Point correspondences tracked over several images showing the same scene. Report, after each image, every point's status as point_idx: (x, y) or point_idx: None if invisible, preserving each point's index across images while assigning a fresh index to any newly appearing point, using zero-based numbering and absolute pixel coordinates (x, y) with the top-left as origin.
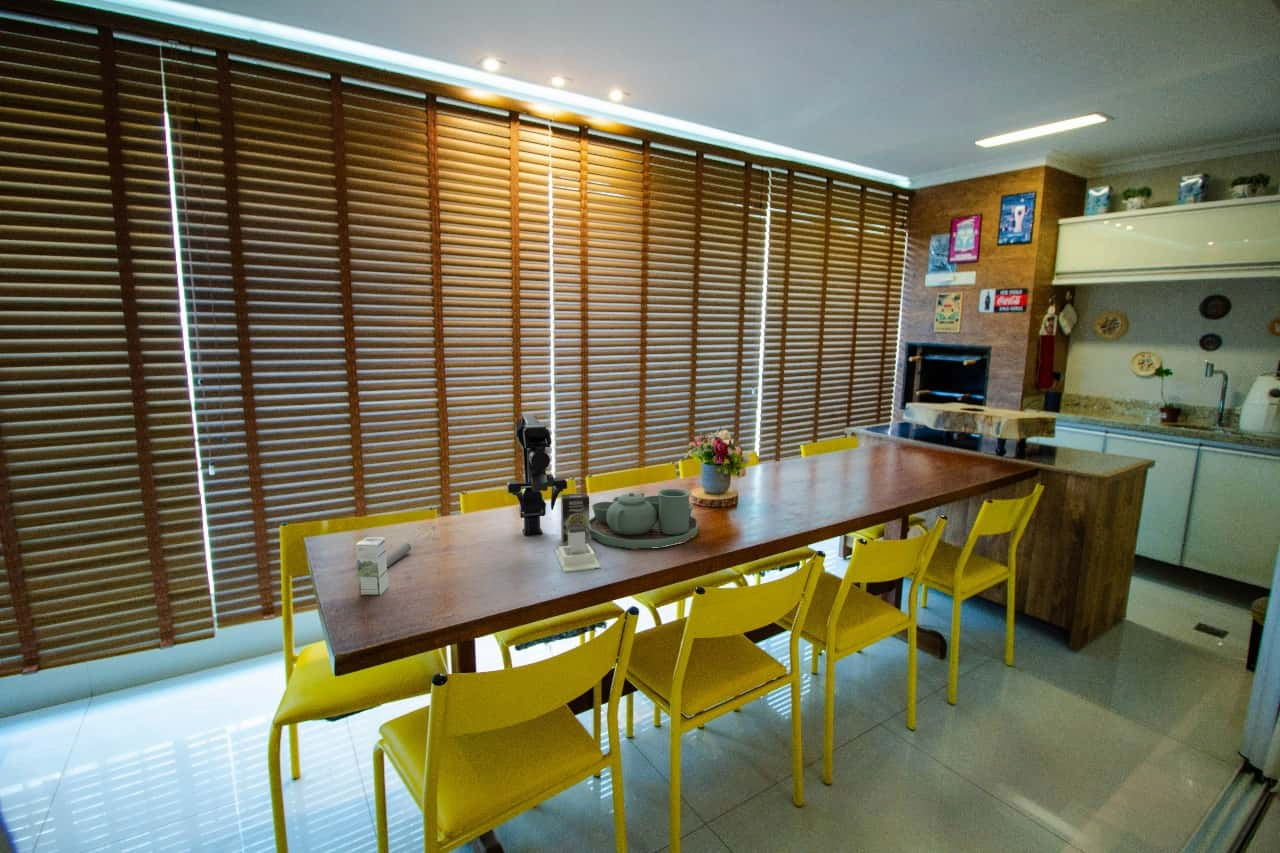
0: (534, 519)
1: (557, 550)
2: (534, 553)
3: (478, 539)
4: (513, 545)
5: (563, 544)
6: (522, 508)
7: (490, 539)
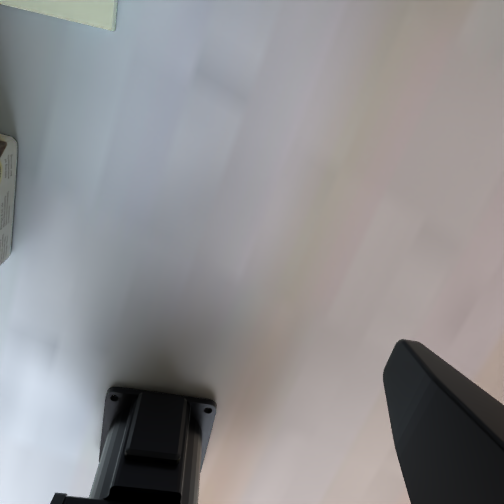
0: (138, 476)
1: (90, 6)
2: (266, 83)
3: None
4: (328, 293)
5: (14, 140)
6: (459, 379)
7: None
